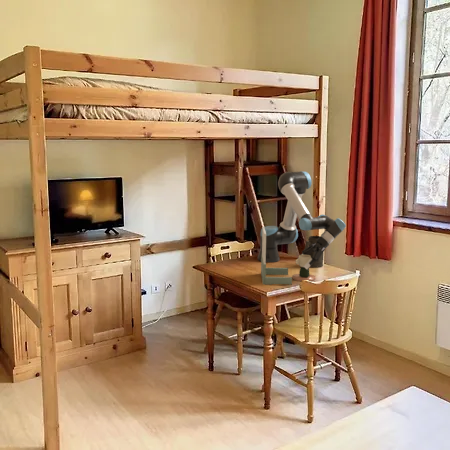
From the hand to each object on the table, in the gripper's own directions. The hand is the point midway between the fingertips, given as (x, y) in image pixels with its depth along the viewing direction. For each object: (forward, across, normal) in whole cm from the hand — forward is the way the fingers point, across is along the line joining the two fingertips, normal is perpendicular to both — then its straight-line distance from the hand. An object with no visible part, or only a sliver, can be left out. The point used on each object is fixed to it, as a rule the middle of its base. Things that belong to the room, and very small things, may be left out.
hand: (300, 265), depth 318 cm
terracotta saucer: (+4, 0, -8) cm, 9 cm away
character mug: (+3, 0, -7) cm, 8 cm away
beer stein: (-8, +28, -20) cm, 35 cm away
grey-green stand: (+16, +2, +4) cm, 17 cm away
